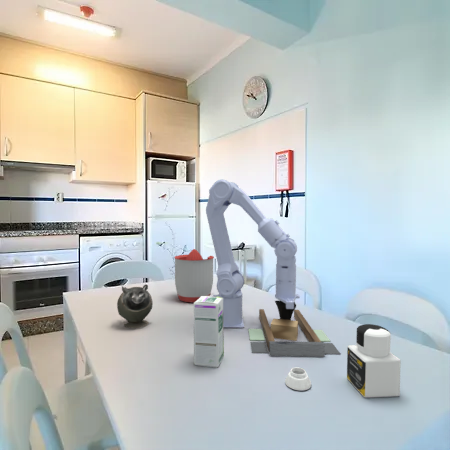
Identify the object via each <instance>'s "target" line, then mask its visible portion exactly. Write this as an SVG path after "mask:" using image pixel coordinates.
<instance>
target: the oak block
mask: <svg viewBox="0 0 450 450" xmlns="http://www.w3.org/2000/svg"><path fill="white" fill-rule="evenodd" d="M270 329H271V331H272V334H273V337H274V339H276V340H277V339H279V340H285V341H291V342H297V340H298V336H299V325H298V321H296V320H292V319H291V320H284V319H280V318H275V317H274V318H272V320H271V322H270Z"/></svg>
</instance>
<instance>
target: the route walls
mask: <svg viewBox="0 0 450 450" xmlns="http://www.w3.org/2000/svg"><path fill="white" fill-rule="evenodd" d="M258 312H259V313H258V318H259V320H260V324H261V329H262V331H263V334H264V338H265V342H266V345H267V349H268V351H269V341H276V340H275V338H274V337H273V334H272V331H271V325H270V324H269V323H270V322H269V320H268V317H267V315H266V313H265V310H264V309H263V308H262V309H261V308H259V309H258ZM293 318H294V321H298V327H299V328H300V330H301V332H302V333H303V334H304V336H305V338H306V340H307V342H321V341H320V339H319V338H318V336H317V335H316V334H315V332H314V331H313V330H314V329H313V328H312V326H311V325H310V323H309V322H308V321H307V320H306V318H305V317H304V315H303V314H302V312H301V311H300V309H295V310H294V311H293Z"/></svg>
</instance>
